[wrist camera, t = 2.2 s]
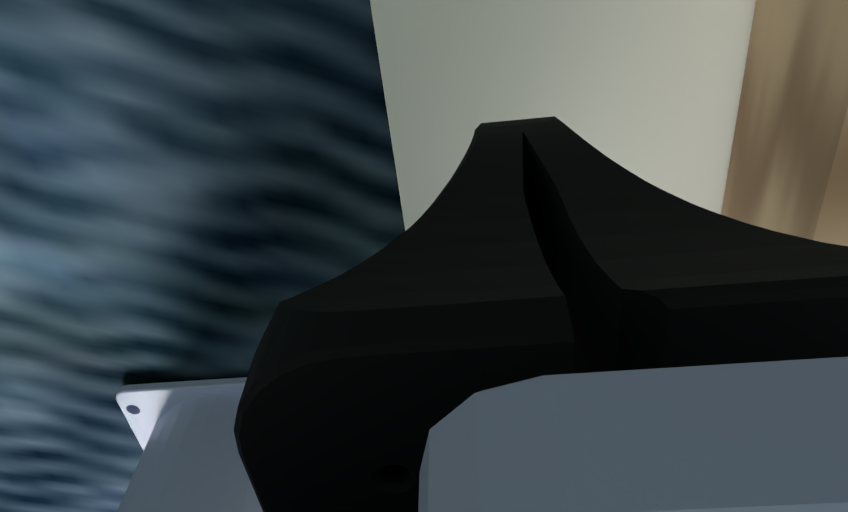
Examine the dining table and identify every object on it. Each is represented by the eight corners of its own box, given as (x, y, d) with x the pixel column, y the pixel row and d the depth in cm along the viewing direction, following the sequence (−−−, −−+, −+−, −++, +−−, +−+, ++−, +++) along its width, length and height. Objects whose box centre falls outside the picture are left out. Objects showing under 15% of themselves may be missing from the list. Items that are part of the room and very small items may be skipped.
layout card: (1012, 493, 29) (1020, 504, 29) (450, 519, 31) (450, 529, 31) (1495, -272, 14) (1525, -274, 14) (352, -128, 16) (350, -125, 16)
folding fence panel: (749, 244, 21) (822, 359, 17) (715, 246, 21) (780, 361, 17) (822, -126, 15) (961, -86, 11) (775, -120, 15) (895, -78, 11)
